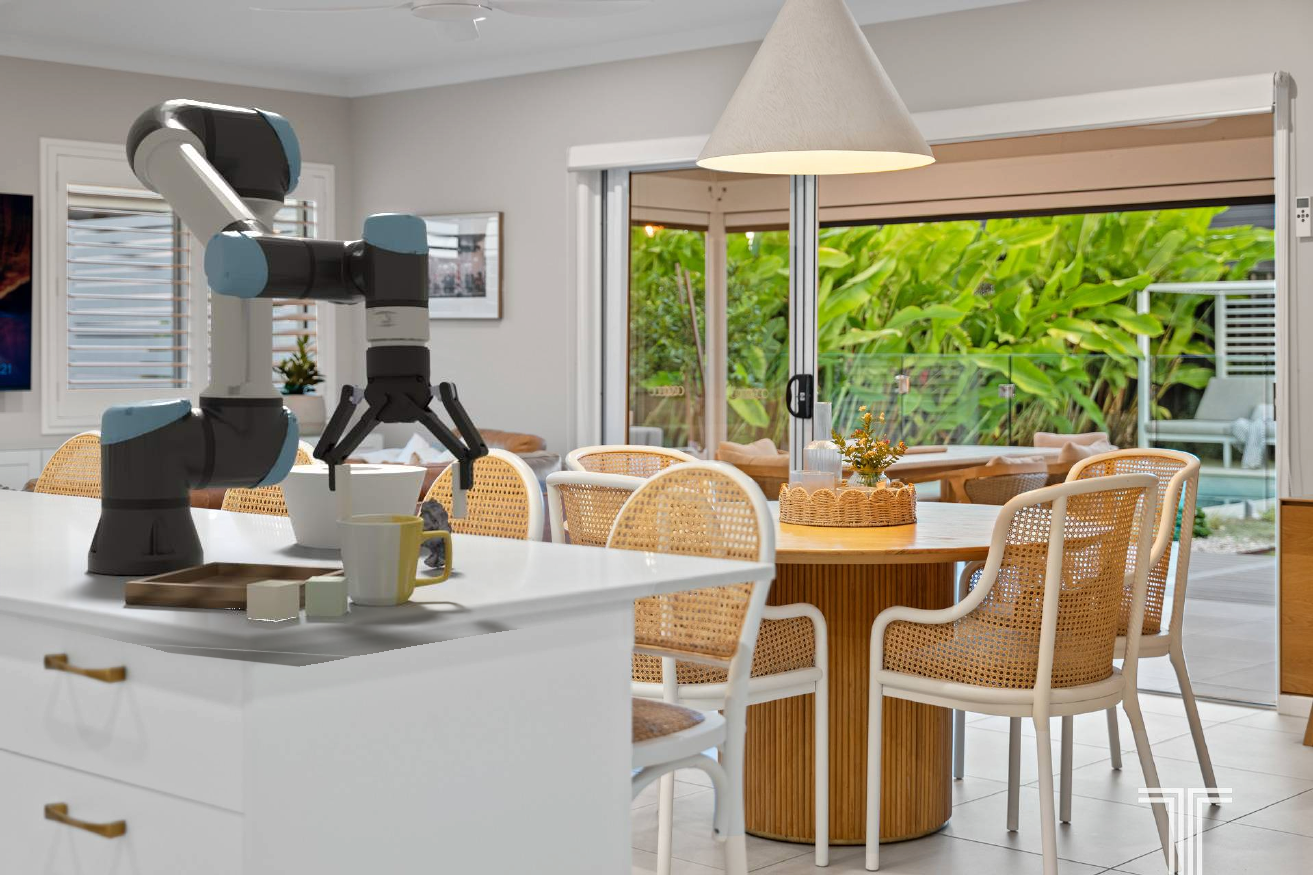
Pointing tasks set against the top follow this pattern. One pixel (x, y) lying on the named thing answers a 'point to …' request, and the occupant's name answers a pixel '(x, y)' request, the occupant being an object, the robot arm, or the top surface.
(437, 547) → the grey stone bust
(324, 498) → the bowl
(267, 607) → the cream block
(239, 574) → the tray
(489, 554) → the top surface
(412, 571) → the mug
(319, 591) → the sage block
